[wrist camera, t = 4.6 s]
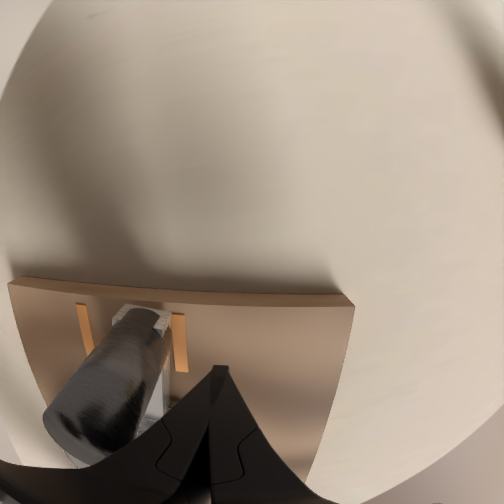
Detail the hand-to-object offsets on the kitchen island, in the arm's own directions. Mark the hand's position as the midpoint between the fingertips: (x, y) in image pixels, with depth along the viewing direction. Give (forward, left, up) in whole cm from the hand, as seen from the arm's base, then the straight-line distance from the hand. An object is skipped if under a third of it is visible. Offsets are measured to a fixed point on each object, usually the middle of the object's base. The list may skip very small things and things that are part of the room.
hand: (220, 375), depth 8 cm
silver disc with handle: (-7, +4, -3) cm, 9 cm away
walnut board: (-10, +3, -5) cm, 11 cm away
